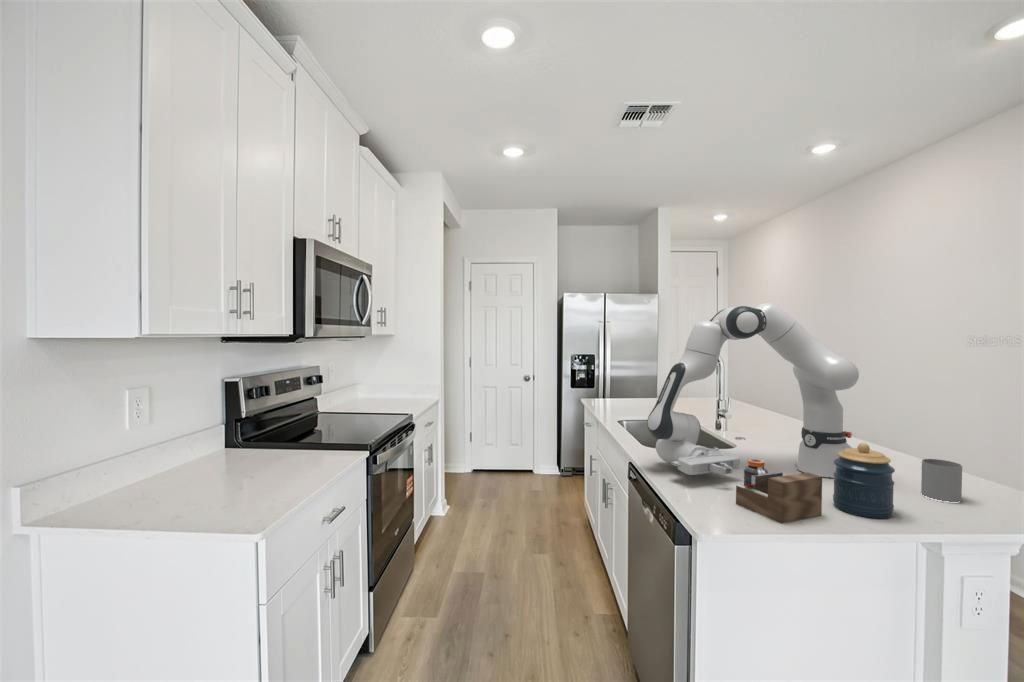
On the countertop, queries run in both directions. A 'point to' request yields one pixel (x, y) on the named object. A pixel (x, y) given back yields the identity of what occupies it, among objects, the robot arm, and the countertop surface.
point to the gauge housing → (785, 497)
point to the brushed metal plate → (762, 481)
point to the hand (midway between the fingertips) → (728, 470)
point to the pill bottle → (753, 470)
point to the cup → (941, 480)
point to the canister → (863, 482)
